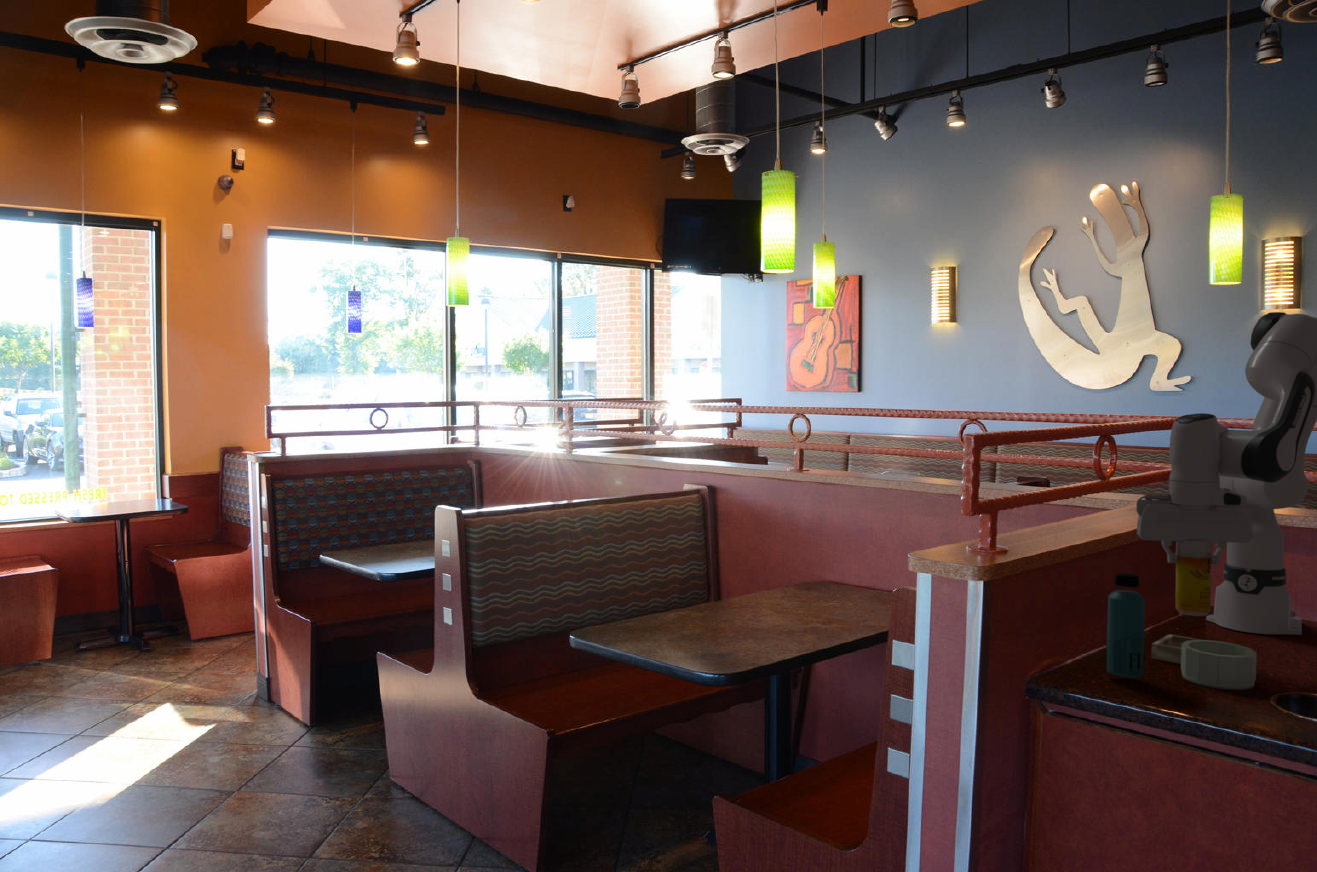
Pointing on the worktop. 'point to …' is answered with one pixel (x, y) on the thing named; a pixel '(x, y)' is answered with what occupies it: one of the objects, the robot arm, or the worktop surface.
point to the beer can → (1193, 577)
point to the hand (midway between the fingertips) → (1193, 563)
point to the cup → (1218, 664)
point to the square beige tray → (1169, 648)
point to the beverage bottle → (1126, 629)
